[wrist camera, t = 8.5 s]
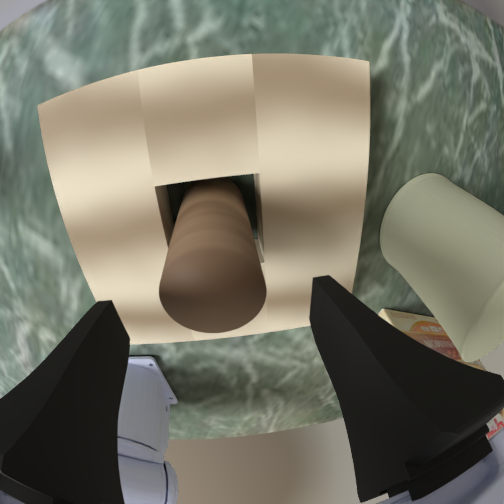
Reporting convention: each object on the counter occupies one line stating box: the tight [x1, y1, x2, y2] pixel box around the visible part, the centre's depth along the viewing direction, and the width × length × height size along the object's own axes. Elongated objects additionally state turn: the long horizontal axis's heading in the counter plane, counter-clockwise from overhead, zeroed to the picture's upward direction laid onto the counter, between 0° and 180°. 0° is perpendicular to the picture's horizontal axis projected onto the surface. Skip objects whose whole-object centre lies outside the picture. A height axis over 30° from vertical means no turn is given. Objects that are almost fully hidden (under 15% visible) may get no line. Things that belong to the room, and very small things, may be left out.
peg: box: [159, 177, 267, 333], centre depth 14 cm, size 4×4×9 cm
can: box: [380, 173, 504, 362], centre depth 15 cm, size 9×9×12 cm
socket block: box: [38, 54, 370, 344], centre depth 17 cm, size 18×18×3 cm
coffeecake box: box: [378, 308, 504, 440], centre depth 20 cm, size 15×7×20 cm, turn 69°
